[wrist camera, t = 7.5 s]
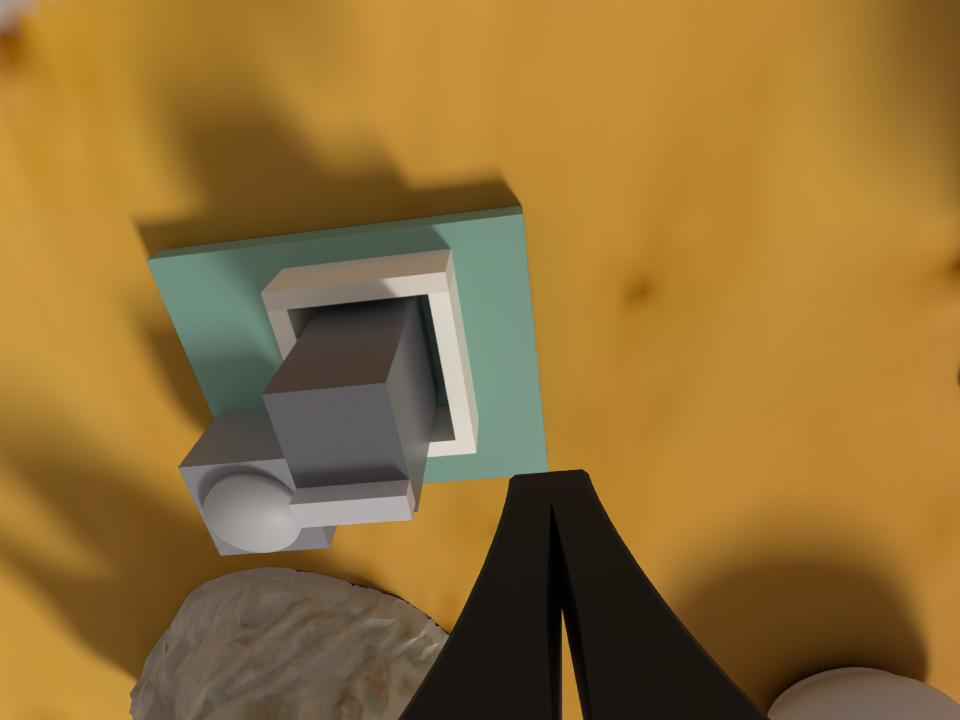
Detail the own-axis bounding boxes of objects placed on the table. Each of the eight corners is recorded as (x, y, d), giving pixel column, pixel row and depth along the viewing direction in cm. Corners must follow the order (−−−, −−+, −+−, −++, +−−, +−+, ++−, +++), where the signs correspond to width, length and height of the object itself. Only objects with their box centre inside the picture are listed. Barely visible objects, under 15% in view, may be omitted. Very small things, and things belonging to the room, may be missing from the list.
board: (521, 205, 19) (526, 251, 15) (546, 456, 23) (555, 541, 19) (161, 249, 20) (78, 303, 16) (256, 480, 24) (210, 564, 21)
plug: (418, 284, 19) (381, 396, 13) (439, 390, 21) (414, 528, 15) (327, 294, 19) (252, 408, 13) (356, 397, 21) (300, 536, 15)
